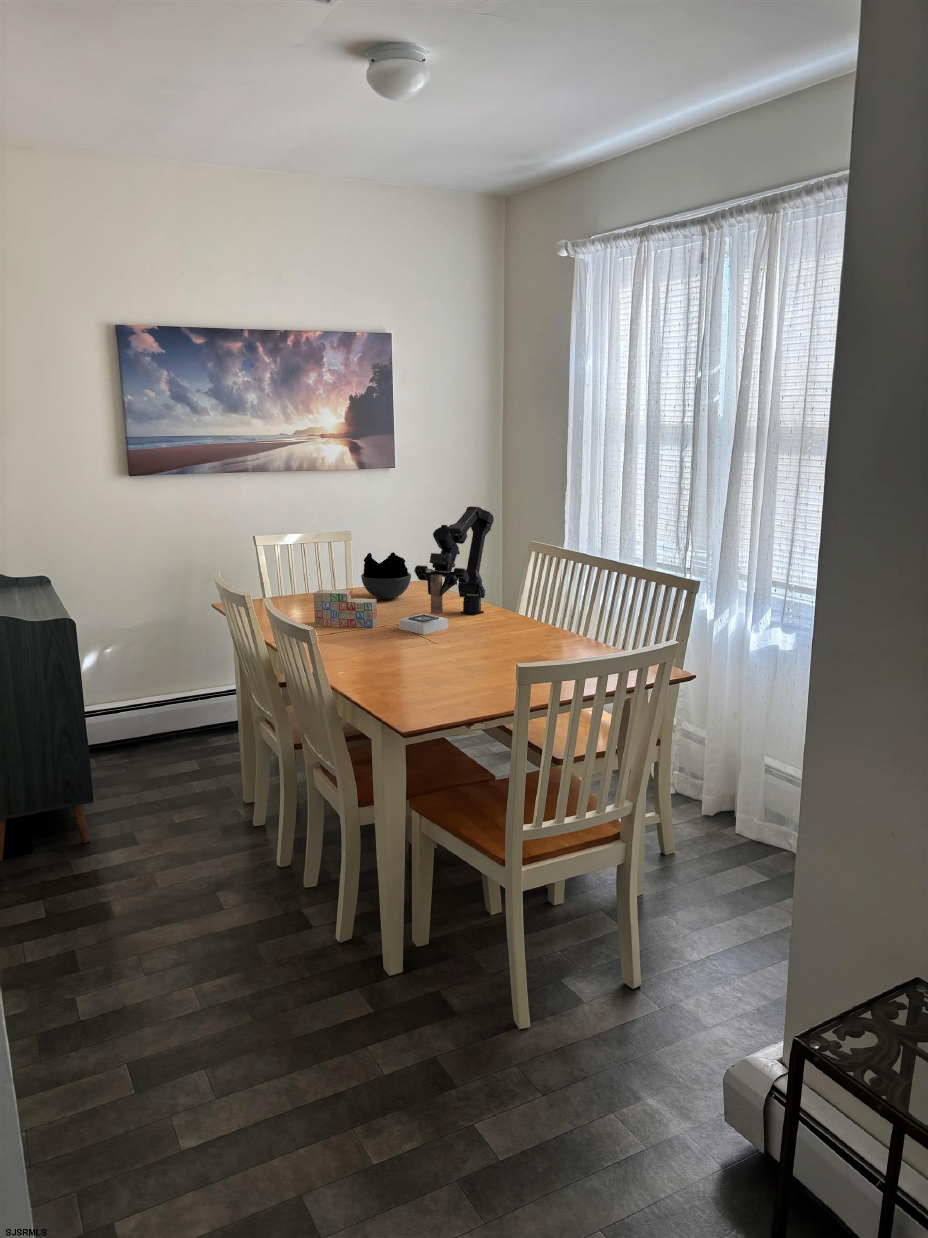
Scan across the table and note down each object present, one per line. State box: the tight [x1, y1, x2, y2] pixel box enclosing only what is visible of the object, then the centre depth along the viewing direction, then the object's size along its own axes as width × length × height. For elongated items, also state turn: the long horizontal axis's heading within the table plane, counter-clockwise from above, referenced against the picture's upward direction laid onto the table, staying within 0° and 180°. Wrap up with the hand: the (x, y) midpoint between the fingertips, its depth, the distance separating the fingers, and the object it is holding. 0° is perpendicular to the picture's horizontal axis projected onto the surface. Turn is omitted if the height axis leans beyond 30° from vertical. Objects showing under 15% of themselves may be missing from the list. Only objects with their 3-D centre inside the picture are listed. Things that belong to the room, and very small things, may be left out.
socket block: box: [398, 613, 449, 635], centre depth 315 cm, size 12×12×4 cm
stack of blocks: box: [313, 589, 378, 629], centre depth 320 cm, size 21×6×12 cm, turn 81°
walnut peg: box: [430, 574, 444, 615], centre depth 308 cm, size 4×4×13 cm
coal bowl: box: [360, 552, 412, 600], centre depth 363 cm, size 20×20×19 cm
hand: (434, 594), depth 306 cm, fingers closed on walnut peg, 4 cm apart
